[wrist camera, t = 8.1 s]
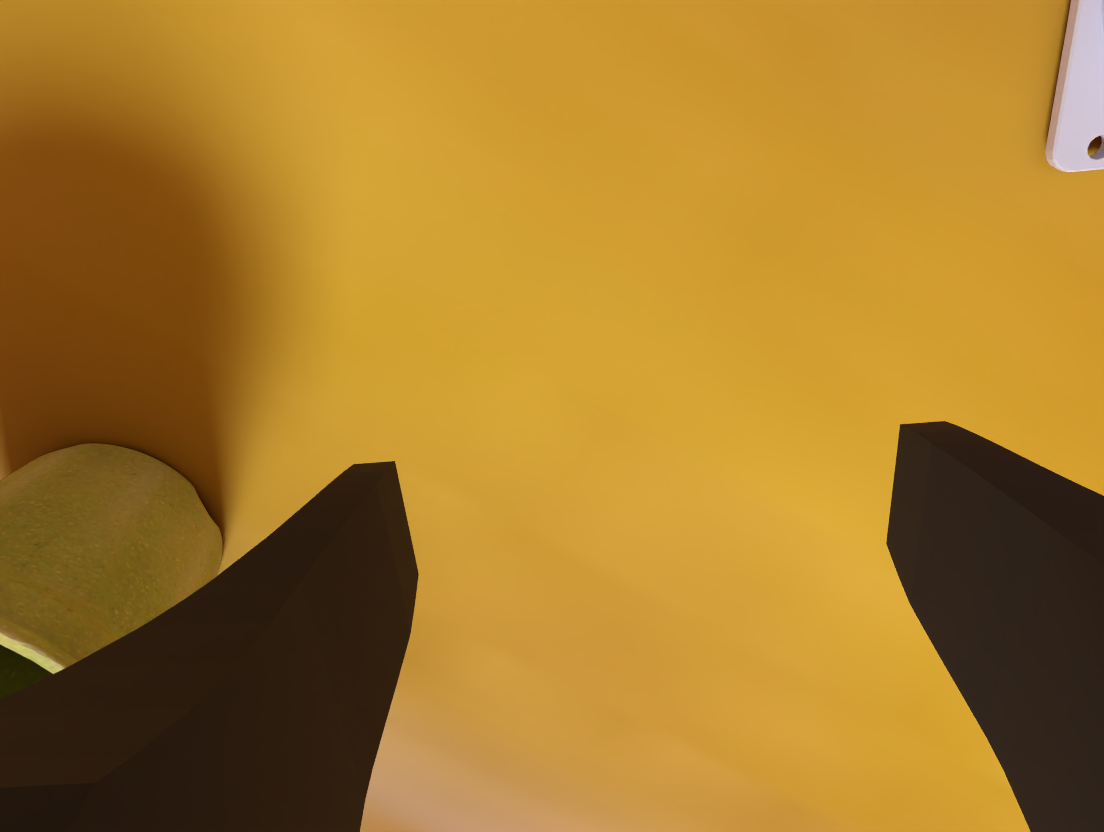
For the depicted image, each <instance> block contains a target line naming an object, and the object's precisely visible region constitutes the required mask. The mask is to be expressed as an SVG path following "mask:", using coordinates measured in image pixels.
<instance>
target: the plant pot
mask: <svg viewBox="0 0 1104 832" xmlns="http://www.w3.org/2000/svg"><path fill="white" fill-rule="evenodd" d="M222 550H223V545H222V536H221V532H220V529H219V527H218V526H217V525H216V524H215V523H214V521H213V520H212V519H211V517H210V516H209V514H208V513H207V511H206V509H205V507H204V505H203V504H202V502H201V500H200V498H199V497H198V495H197V492H196V490H195V488H194V487H193V485H192V484H191V483H190V482H189V481H188V480H187V479H185V478H184V477H183V476H182V475H181V474H180V473H178V472H177V471H175V470H174V469H172V468H171V467H169V466H168V465H166V464H164V463H163V462H161V461H159V460H157V459H155V458H153V457H151V456H148V455H146V454H143V453H141V452H138V451H135V450H132V449H129V448H125V447H120V446H116V445H109V444H99V443H88V444H80V445H76V446H72V447H68V448H64V449H60V450H57V451H53V452H50V453H47V454H45V455H43V456H40V457H38V458H36V459H35V460H33V461H31V462H30V463H28V464H26V465H25V466H23V467H21V468H20V469H18V470H16V471H15V472H13V473H12V474H10V475H8V476H7V477H5V478H3V479H2V480H0V699H1V698H4V697H6V696H8V695H10V694H12V693H15V692H17V691H19V690H21V689H24V688H26V687H28V686H30V685H32V684H34V683H36V682H38V681H40V680H42V679H44V678H46V677H48V676H50V675H52V674H54V673H57V672H59V671H61V670H63V669H65V668H66V667H68V666H70V665H72V664H74V663H76V662H78V661H80V660H81V659H83V658H85V657H87V656H89V655H90V654H92V653H94V652H96V651H98V650H100V649H101V648H103V647H105V646H107V645H109V644H110V643H112V642H114V641H116V640H118V639H119V638H121V637H123V636H125V635H127V634H128V633H130V632H132V631H134V630H136V629H138V628H139V627H141V626H143V625H144V624H146V623H147V622H149V621H151V620H152V619H154V618H156V617H157V616H159V615H160V614H162V613H163V612H165V611H166V610H168V609H170V608H171V607H173V606H174V605H176V604H177V603H179V602H180V601H182V600H184V599H185V598H187V597H188V596H190V595H191V594H192V593H194V592H195V591H197V590H198V589H200V588H201V587H203V586H204V585H205V584H207V583H208V582H210V581H211V580H212V579H214V578H215V577H217V574H218V572H219V569H220V565H221V559H222Z"/></svg>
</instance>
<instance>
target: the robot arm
mask: <svg viewBox="0 0 1104 832" xmlns="http://www.w3.org/2000/svg"><path fill="white" fill-rule="evenodd" d="M1098 136H1101V137H1102V144H1101V146H1100V149H1099V150H1098V151H1097V152H1096V153H1095V154H1094V155H1091V156H1088V151H1087V148H1088V146H1089V144H1090V142H1091V141H1092V140H1093V139H1094V138H1095V137H1098ZM1046 159H1047V161H1048V163H1049V164H1050V165H1051V166H1053V167H1054V168H1056V169H1059V170H1061V171H1067V172H1076V171H1087V170H1097V169H1104V0H1071V5H1070V11H1069V17H1068V22H1067V28H1066V34H1065V40H1064V46H1063V51H1062V57H1061V63H1060V69H1059V75H1058V80H1057V86H1056V92H1055V98H1054V104H1053V110H1052V115H1051V121H1050V127H1049V133H1048V139H1047V144H1046ZM886 544H887V547H888V549H889V552H890V555H891V557H892V560H893V563H894V565H895V568H896V571H897V573H898V576H899V578H900V581H901V583H902V586H903V588H904V591H905V593H906V595H907V598H908V600H909V603H910V605H911V606H912V608H913V610H914V612H915V614H916V616H917V617H918V619H919V621H920V623H921V624H922V626H923V628H924V630H925V632H926V633H927V635H928V637H929V639H930V640H931V642H932V644H933V646H934V647H935V649H936V651H937V653H938V654H939V656H940V658H941V660H942V661H943V663H944V665H945V666H946V668H947V670H948V672H949V673H950V675H951V677H952V679H953V680H954V682H955V684H956V685H957V687H958V689H959V691H960V692H961V694H962V696H963V698H964V699H965V701H966V703H967V704H968V706H969V708H970V710H971V711H972V713H973V715H974V717H975V718H976V720H977V722H978V723H979V725H980V727H981V729H982V730H983V732H984V734H985V736H986V737H987V739H988V741H989V743H990V745H991V747H992V749H993V751H994V753H995V755H996V756H997V758H998V760H999V762H1000V764H1001V766H1002V768H1003V770H1004V772H1005V774H1006V777H1007V779H1008V781H1009V784H1010V786H1011V788H1012V790H1013V793H1014V795H1015V797H1016V799H1017V802H1018V804H1019V806H1020V808H1021V811H1022V813H1023V815H1024V817H1025V820H1026V822H1027V824H1028V826H1029V829H1030V831H1031V832H1104V496H1103V495H1101V494H1098V493H1096V492H1094V491H1092V490H1090V489H1088V488H1085V487H1083V486H1081V485H1079V484H1077V483H1075V482H1073V481H1071V480H1069V479H1067V478H1064V477H1062V476H1060V475H1058V474H1056V473H1054V472H1052V471H1050V470H1048V469H1046V468H1044V467H1042V466H1040V465H1038V464H1036V463H1034V462H1032V461H1030V460H1028V459H1026V458H1024V457H1022V456H1020V455H1018V454H1016V453H1014V452H1012V451H1010V450H1008V449H1006V448H1004V447H1002V446H1000V445H998V444H996V443H994V442H992V441H990V440H987V439H985V438H983V437H981V436H979V435H977V434H975V433H973V432H970V431H968V430H966V429H964V428H961V427H959V426H957V425H954V424H951V423H949V422H946V421H941V422H927V423H913V424H900V431H899V440H898V448H897V457H896V465H895V474H894V483H893V491H892V500H891V508H890V517H889V526H888V534H887V543H886ZM417 582H418V569H417V564H416V560H415V555H414V550H413V545H412V541H411V536H410V531H409V526H408V521H407V517H406V512H405V507H404V502H403V498H402V493H401V488H400V483H399V479H398V474H397V469H396V464H395V461H392V462H378V463H364V464H354V465H352V466H351V467H349V468H348V469H347V470H345V471H344V472H343V473H342V474H340V475H339V476H338V477H337V478H336V479H334V480H333V481H332V482H331V483H330V484H328V485H327V486H326V487H325V488H324V489H323V490H322V491H320V492H319V493H318V494H317V495H316V496H315V497H314V498H312V499H311V500H310V501H309V502H308V503H307V504H306V505H304V506H303V507H302V508H301V509H300V510H299V511H297V512H296V513H295V514H294V515H293V516H292V517H290V518H289V519H288V520H287V521H286V522H284V523H283V524H282V525H281V526H280V527H279V528H277V529H276V530H275V531H274V532H273V533H272V534H270V535H269V536H268V537H267V538H265V539H264V540H263V541H262V542H260V543H259V544H258V545H256V546H255V547H254V548H253V549H251V550H250V551H249V552H247V553H246V554H245V555H244V556H242V557H241V558H240V559H238V560H237V561H236V562H235V563H233V564H232V565H231V566H229V567H228V568H227V569H226V570H224V571H223V572H222V573H220V574H219V575H218V576H217V577H215V578H214V579H212V580H211V581H210V582H208V583H207V584H205V585H204V586H203V587H201V588H200V589H198V590H197V591H195V592H194V593H192V594H191V595H190V596H188V597H187V598H185V599H184V600H182V601H180V602H179V603H177V604H176V605H174V606H173V607H171V608H170V609H168V610H166V611H165V612H163V613H162V614H160V615H159V616H157V617H156V618H154V619H152V620H151V621H149V622H147V623H146V624H144V625H143V626H141V627H139V628H138V629H136V630H134V631H132V632H130V633H128V634H127V635H125V636H123V637H121V638H119V639H118V640H116V641H114V642H112V643H110V644H109V645H107V646H105V647H103V648H101V649H100V650H98V651H96V652H94V653H92V654H90V655H89V656H87V657H85V658H83V659H81V660H80V661H78V662H76V663H74V664H72V665H70V666H68V667H66V668H65V669H63V670H61V671H59V672H57V673H54V674H52V675H50V676H48V677H46V678H44V679H42V680H40V681H38V682H36V683H34V684H32V685H30V686H28V687H26V688H24V689H21V690H19V691H17V692H15V693H12V694H10V695H8V696H6V697H4V698H1V699H0V832H360V826H361V821H362V815H363V809H364V803H365V798H366V794H367V790H368V786H369V781H370V777H371V773H372V769H373V765H374V762H375V758H376V755H377V751H378V748H379V744H380V741H381V737H382V734H383V730H384V727H385V723H386V720H387V716H388V713H389V709H390V706H391V702H392V699H393V695H394V692H395V688H396V685H397V681H398V677H399V674H400V670H401V667H402V663H403V659H404V656H405V652H406V648H407V645H408V641H409V637H410V633H411V627H412V620H413V613H414V606H415V598H416V590H417Z"/></svg>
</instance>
